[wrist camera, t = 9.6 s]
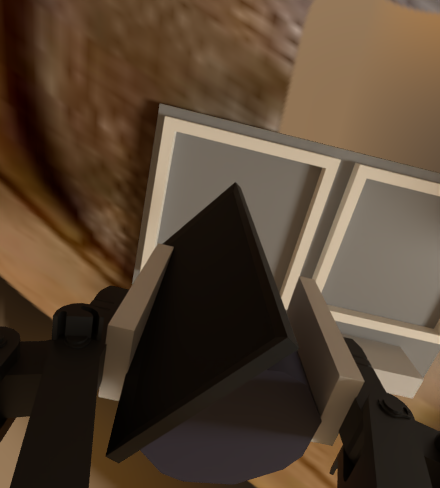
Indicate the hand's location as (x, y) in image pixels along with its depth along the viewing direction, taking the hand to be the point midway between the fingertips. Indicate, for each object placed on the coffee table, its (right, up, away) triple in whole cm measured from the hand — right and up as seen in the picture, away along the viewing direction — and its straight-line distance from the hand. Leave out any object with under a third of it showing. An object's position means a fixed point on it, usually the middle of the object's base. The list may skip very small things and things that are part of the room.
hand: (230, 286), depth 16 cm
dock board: (+7, +1, +12) cm, 14 cm away
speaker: (0, +1, +2) cm, 2 cm away
